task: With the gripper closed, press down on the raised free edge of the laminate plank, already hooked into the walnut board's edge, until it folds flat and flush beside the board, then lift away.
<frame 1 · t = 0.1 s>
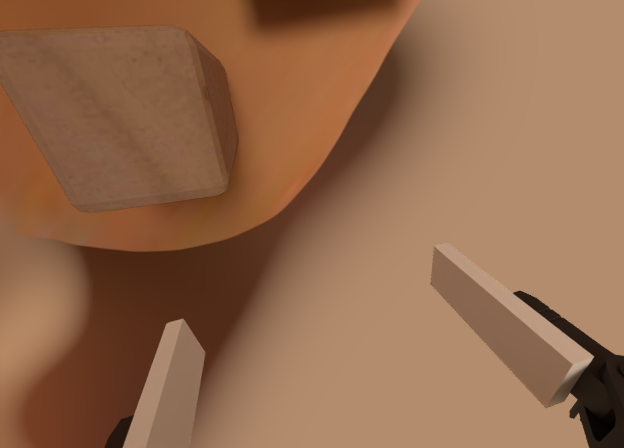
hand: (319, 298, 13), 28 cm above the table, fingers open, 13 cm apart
wooden block: (192, 108, 32), on the table
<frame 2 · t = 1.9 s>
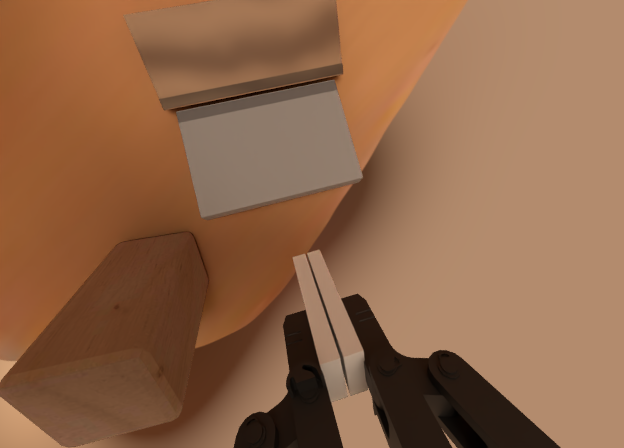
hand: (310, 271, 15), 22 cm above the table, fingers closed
installed board: (246, 50, 28), on the table
plank: (271, 148, 29), point 4 cm above the table, hinge at 35.0°
wooden block: (168, 261, 38), on the table
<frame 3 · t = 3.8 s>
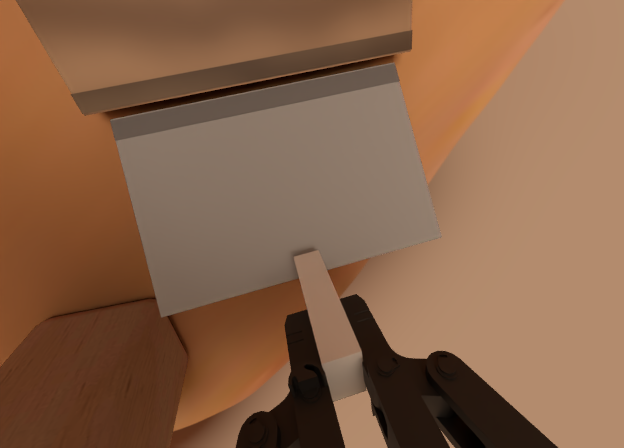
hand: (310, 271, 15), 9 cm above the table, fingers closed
installed board: (239, 5, 15), on the table
plank: (285, 184, 17), point 4 cm above the table, hinge at 32.0°, touching gripper
wooden block: (126, 336, 25), on the table
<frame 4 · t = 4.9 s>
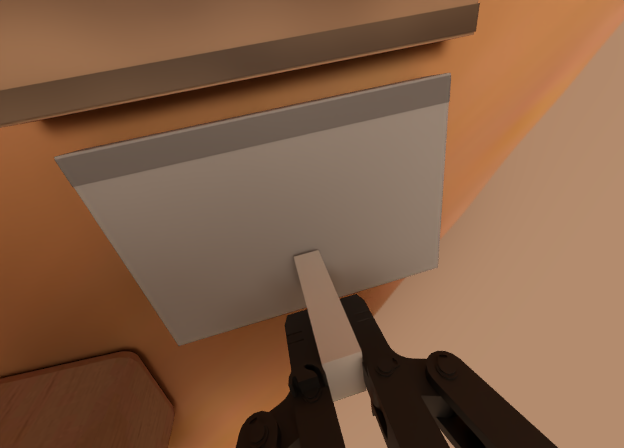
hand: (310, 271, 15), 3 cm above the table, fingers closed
plank: (294, 219, 15), point 2 cm above the table, hinge at 3.8°, touching gripper
wooden block: (97, 392, 21), on the table
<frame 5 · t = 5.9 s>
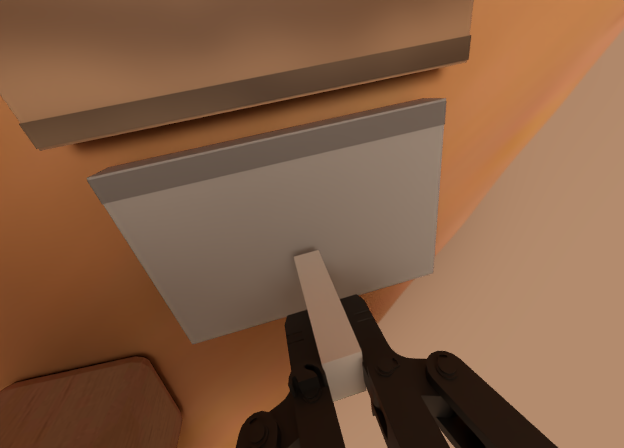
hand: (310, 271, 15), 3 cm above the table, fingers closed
installed board: (246, 6, 12), on the table
plank: (300, 229, 16), point 1 cm above the table, hinge at 0.9°
wooden block: (109, 396, 21), on the table
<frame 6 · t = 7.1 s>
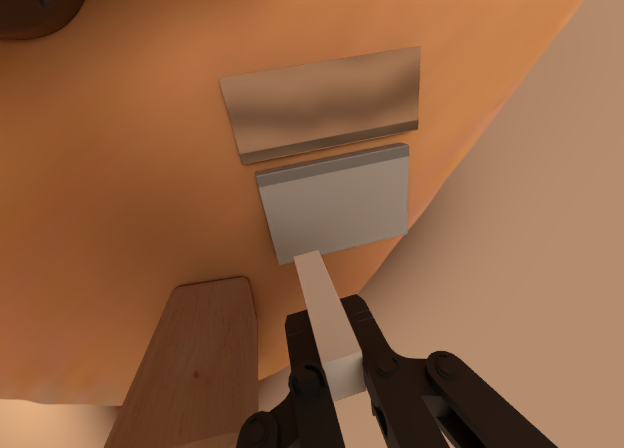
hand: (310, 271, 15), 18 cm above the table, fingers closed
installed board: (324, 106, 28), on the table
plank: (338, 205, 32), point 1 cm above the table, hinge at 0.9°
wooden block: (218, 305, 36), on the table
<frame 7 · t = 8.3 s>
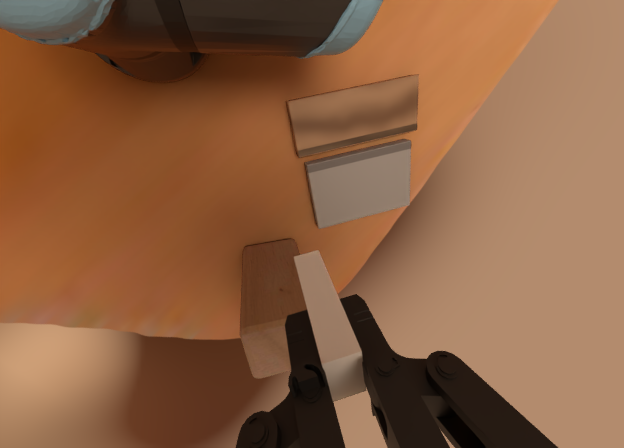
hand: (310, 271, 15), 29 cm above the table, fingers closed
installed board: (352, 115, 40), on the table
plank: (360, 185, 45), point 1 cm above the table, hinge at 0.9°
wooden block: (272, 260, 50), on the table
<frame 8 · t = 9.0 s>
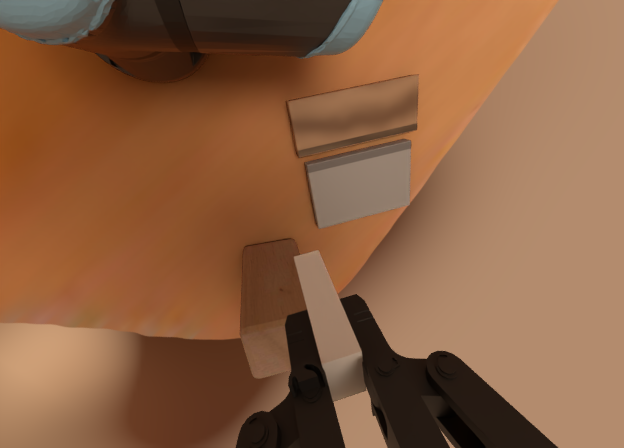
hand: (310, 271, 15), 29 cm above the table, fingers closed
installed board: (352, 115, 40), on the table
plank: (360, 185, 45), point 1 cm above the table, hinge at 0.9°
wooden block: (272, 260, 50), on the table
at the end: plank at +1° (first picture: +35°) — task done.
